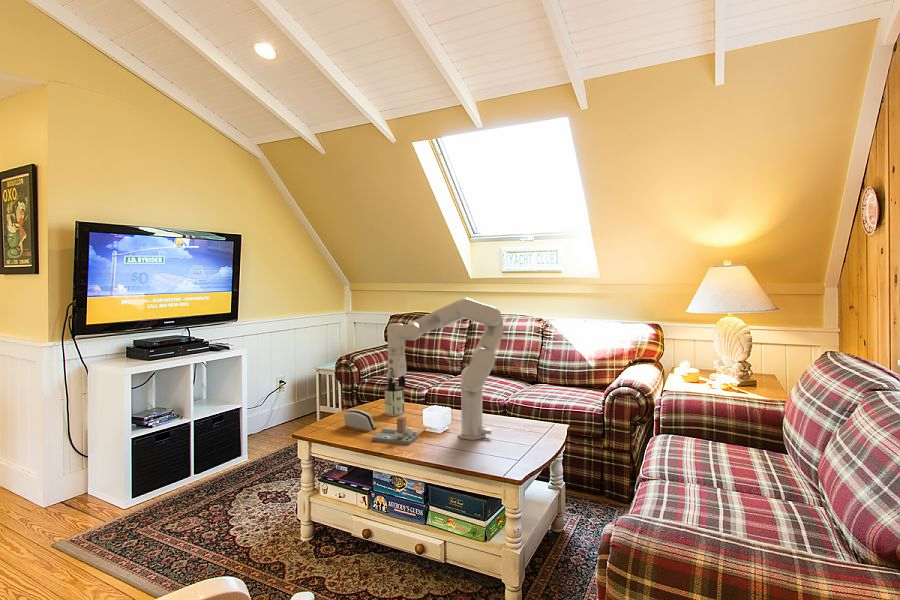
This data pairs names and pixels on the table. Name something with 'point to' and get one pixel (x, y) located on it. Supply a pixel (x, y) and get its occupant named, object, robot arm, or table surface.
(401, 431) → the trammel slider
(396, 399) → the coffee can
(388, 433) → the gauge board
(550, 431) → the table surface
